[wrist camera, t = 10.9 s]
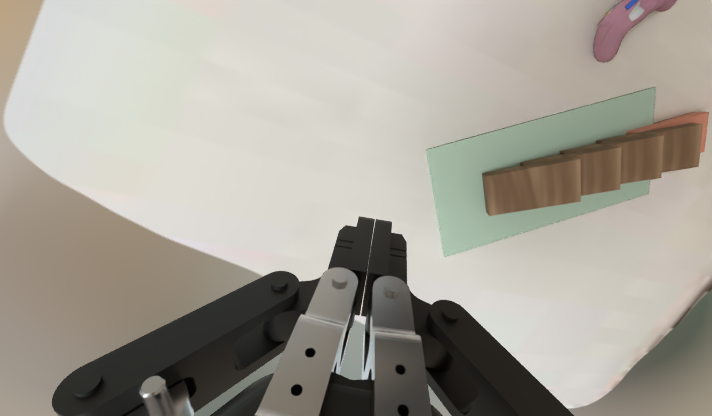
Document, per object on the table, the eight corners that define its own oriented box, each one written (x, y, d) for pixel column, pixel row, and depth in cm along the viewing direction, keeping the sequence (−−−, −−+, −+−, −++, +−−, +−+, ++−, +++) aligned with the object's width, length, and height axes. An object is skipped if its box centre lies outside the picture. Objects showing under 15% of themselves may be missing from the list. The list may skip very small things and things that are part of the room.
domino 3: (566, 192, 40) (661, 177, 38) (565, 153, 38) (664, 135, 36) (560, 188, 41) (651, 174, 39) (559, 150, 40) (654, 133, 38)
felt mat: (443, 256, 41) (444, 257, 41) (426, 149, 37) (427, 149, 37) (646, 193, 44) (648, 193, 44) (653, 87, 40) (655, 87, 40)
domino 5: (636, 171, 41) (704, 151, 42) (638, 132, 39) (708, 112, 40) (624, 169, 42) (689, 150, 43) (626, 131, 41) (693, 112, 42)
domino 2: (527, 204, 39) (620, 189, 37) (524, 165, 38) (621, 147, 36) (522, 200, 41) (611, 185, 39) (520, 162, 39) (612, 144, 37)
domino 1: (489, 216, 39) (580, 201, 37) (484, 176, 37) (580, 159, 35) (485, 211, 40) (573, 197, 38) (481, 173, 39) (573, 156, 37)
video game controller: (636, -17, 38) (690, -72, 31) (667, 9, 37) (729, -41, 30) (570, 43, 38) (608, 2, 31) (599, 69, 38) (644, 34, 31)
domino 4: (602, 182, 40) (698, 166, 38) (603, 142, 39) (703, 124, 36) (595, 178, 42) (687, 163, 40) (595, 140, 40) (691, 122, 38)
